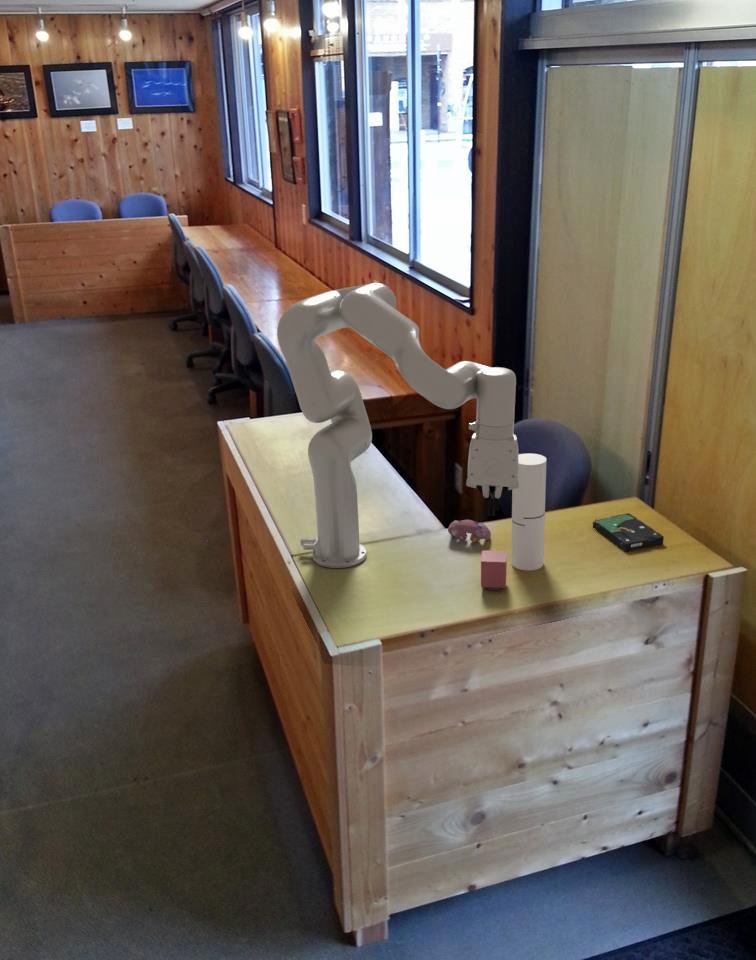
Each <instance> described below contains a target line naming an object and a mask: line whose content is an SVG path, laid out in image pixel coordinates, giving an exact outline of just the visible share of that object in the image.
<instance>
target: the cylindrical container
mask: <svg viewBox="0 0 756 960" xmlns="http://www.w3.org/2000/svg"><path fill="white" fill-rule="evenodd" d="M518 459H519V466H518V482H519V488H517V489H512V492H511V493H512V496H511V499H512V500H511V502H512V503H511V545H510V546H511V555H510V557H511V558H510V563H511V565H512V567H513V568H514V569H517V570H521V571H529V572H530V571H537V570H539V569H541V568H542V567H543V566H544V553H545V524H546V522H545V520H546V519H545V518H546V493H547V491H546V489H547V487H546V486H547V484H546V483H547V457H546V456H544V455H542V454H538V453H518Z"/></svg>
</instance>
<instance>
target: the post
mask: <svg viewBox="0 0 756 960" xmlns="http://www.w3.org/2000/svg"><path fill="white" fill-rule="evenodd" d="M500 590H501V588H499V587H487V591H500Z"/></svg>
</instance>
